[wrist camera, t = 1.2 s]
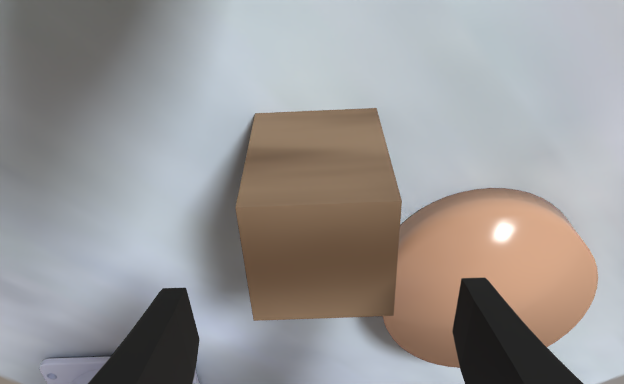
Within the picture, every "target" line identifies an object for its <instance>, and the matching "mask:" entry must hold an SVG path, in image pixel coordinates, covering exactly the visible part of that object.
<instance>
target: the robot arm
mask: <svg viewBox="0 0 624 384" xmlns="http://www.w3.org/2000/svg"><path fill="white" fill-rule="evenodd" d="M452 332H453V337H454V342H455V347H456V352H457V356H458V361H459V365H460V369H461V372H462V375H463V378H464V381H465V384H583V383H582V382H581V381H580V380H579V379H578V378H577V377H576V376H575V375H574V374H573V373H572V372H571V371H570V370H569V369H568V368H567V367H566V366H565V365H564V364H563V363H562V362H561V361H560V360H558V358H557V357H556V356H555V355H554V354H553V353H552V352H551V351H550V350H549V349H548V348H547V347H546V346H545V345H544V344H543V343H542V342H541V341H540V340H539V338H538V337H537V336H536V335H535V334H534V333H533V332H532V331H531V330H530V329H529V328H528V327H527V325H526V324H525V323H524V322H523V321H522V320H521V319H520V317H519V316H518V315H517V314H516V313H515V312H514V310H513V309H512V308H511V307H510V306H509V305H508V303H507V302H506V301H505V300H504V299H503V297H502V296H501V295H500V294H499V293H498V291H497V290H496V289H495V288H494V287H493V285H492V284H491V283H490V282H489V281H488V280H487V279H486V278H485V277H484V278H461V284H460V290H459V296H458V301H457V307H456V313H455V319H454V324H453V330H452ZM198 346H199V336H198V332H197V328H196V324H195V320H194V317H193V313H192V309H191V305H190V301H189V297H188V294H187V290H186V288H163V289H162V290H161V291H160V292H159V293H158V295H157V296H156V298H155V299H154V300H153V302H152V303H151V305H150V306H149V307H148V309H147V310H146V312H145V313H144V314H143V316H142V317H141V318H140V320H139V321H138V322H137V324H136V325H135V326H134V328H133V329H132V330H131V332H130V333H129V334H128V336H127V337H126V338H125V339H124V341H123V342H122V343H121V344H120V346H119V347H118V348H117V349H116V351H115V352H114V353H113V355H112V356H110V357H80V358H50V359H45V360H43V361H42V363H41V365H40V367H39V370H40V372H41V373H42V375H43V377H44V379H45V380H46V382H47V384H199V380H198V377H197V373H196V369H195V368H196V361H197V354H198Z"/></svg>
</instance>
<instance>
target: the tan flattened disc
mask: <svg viewBox="0 0 624 384" xmlns="http://www.w3.org/2000/svg"><path fill="white" fill-rule="evenodd" d="M484 277H485V278H486V279H487V280H488V281H489V282H490V283H491V284H492V285H493V287H494V288H495V289H496V290H497V291H498V293H499V294H500V295H501V296H502V297H503V299H504V300H505V301H506V302H507V303H508V305H509V306H510V307H511V308H512V309H513V310H514V312H515V313H516V314H517V315H518V316H519V317H520V319H521V320H522V321H523V322H524V323H525V324H526V325H527V327H528V328H529V329H530V330H531V331H532V332H533V333H534V334H535V335H536V336H537V337H538V338H539V340H540V341H541V342H542V343H543V344H544V345H545V346H546V347H548V346H550V345H551V344H553V343H555V342H556V341H558V340H559V339H560V338H562V337H563V336H564V335H566V334H567V333H568V332H569V331H570V330H571V329H572V328H573V327H574V326H576V324H577V323H578V322H579V321H580V320H581V319H582V318H583V316H584V315H585V313H586V312H587V310H588V309H589V307H590V305H591V303H592V301H593V299H594V296H595V293H596V289H597V283H598V272H597V266H596V263H595V259H594V257H593V255H592V254H591V252H590V250H589V248H588V247H587V246H586V244H585V243H584V242H583V240H582V239H581V237H580V236H579V235H578V233H577V232H576V230H575V229H574V228H573V226H572V225H571V224H570V222H569V221H568V219H567V218H566V217H565V216H564V215H563V213H562V212H561V211H560V210H559V209H558V208H556V207H555V206H554V205H553V204H551V203H550V202H548V201H546V200H544V199H543V198H541V197H538V196H536V195H533V194H531V193H527V192H523V191H519V190H513V189H505V188H486V189H476V190H470V191H465V192H461V193H457V194H454V195H451V196H447V197H445V198H443V199H440V200H438V201H435V202H433V203H431V204H429V205H428V206H426V207H424V208H422V209H421V210H419V211H418V212H416V213H415V214H413V215H412V216H410V217H409V218H408V219H407V220H406V221H405V222H404V223H402V224H401V225H400V232H399V246H398V261H397V275H396V289H395V303H394V316H383V319H384V323H385V326H386V328H387V330H388V332H389V334H390V335H391V336H392V338H393V339H394V340H395V341H396V343H397V344H398V345H399V346H400V347H402V348H403V349H404V350H406V351H407V352H408V353H410V354H412V355H414V356H416V357H417V358H420V359H422V360H425V361H427V362H431V363H434V364H437V365H443V366H448V367H458V368H460V365H459V361H458V356H457V352H456V347H455V342H454V337H453V332H452V330H453V324H454V319H455V313H456V307H457V301H458V296H459V290H460V284H461V278H484Z"/></svg>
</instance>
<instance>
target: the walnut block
mask: <svg viewBox="0 0 624 384" xmlns="http://www.w3.org/2000/svg"><path fill="white" fill-rule="evenodd" d="M401 204H402V200H401V197H400V193H399V189H398V186H397V182H396V178H395V175H394V171H393V167H392V164H391V160H390V156H389V153H388V149H387V145H386V142H385V138H384V134H383V131H382V127H381V123H380V119H379V116H378V112H377V108H368V109H345V110H322V111H299V112H276V113H255V117H254V122H253V126H252V131H251V136H250V141H249V145H248V150H247V155H246V160H245V164H244V169H243V174H242V179H241V183H240V188H239V193H238V198H237V202H236V207H235V208H236V214H237V221H238V227H239V233H240V239H241V245H242V251H243V258H244V264H245V270H246V276H247V282H248V288H249V295H250V301H251V307H252V313H253V319H254V321H256V320H285V319H314V318H343V317H372V316H394V303H395V289H396V275H397V261H398V246H399V232H400V218H401Z"/></svg>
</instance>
